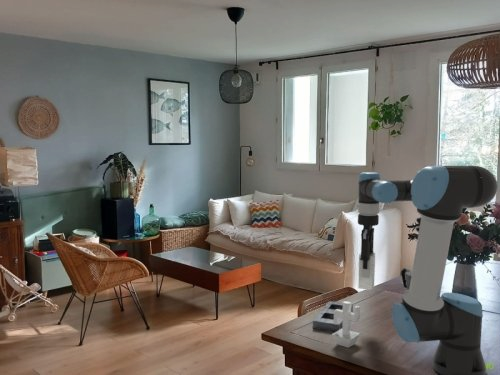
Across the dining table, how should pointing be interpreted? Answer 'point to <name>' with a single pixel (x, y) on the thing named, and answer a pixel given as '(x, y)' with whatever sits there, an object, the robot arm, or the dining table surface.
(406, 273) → the coffeepot
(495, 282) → the dining table surface
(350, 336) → the figurine
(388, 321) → the dining table surface
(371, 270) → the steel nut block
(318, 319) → the dark grey flat block
